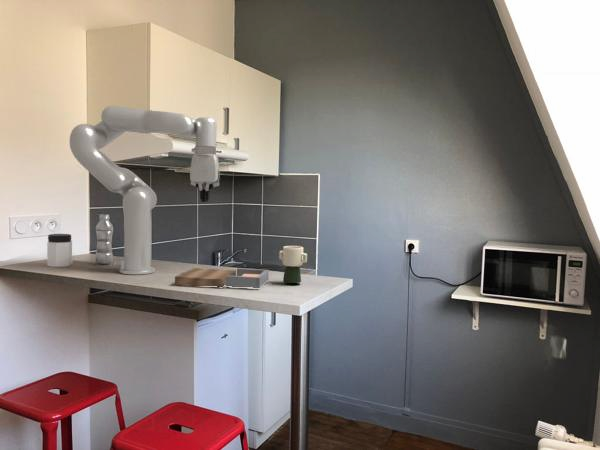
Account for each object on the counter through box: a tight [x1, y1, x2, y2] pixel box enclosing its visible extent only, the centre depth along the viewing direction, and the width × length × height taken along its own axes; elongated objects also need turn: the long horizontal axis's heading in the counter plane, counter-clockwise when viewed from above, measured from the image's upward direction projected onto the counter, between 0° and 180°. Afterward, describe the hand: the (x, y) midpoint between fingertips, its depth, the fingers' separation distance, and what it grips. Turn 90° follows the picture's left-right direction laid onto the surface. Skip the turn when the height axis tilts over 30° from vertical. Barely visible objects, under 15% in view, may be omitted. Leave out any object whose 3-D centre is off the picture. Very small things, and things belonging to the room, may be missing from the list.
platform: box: [174, 267, 237, 287], centre depth 172 cm, size 16×18×3 cm
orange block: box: [242, 274, 260, 277], centre depth 170 cm, size 6×6×4 cm
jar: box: [46, 233, 73, 268], centre depth 195 cm, size 9×8×12 cm
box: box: [225, 267, 270, 288], centre depth 171 cm, size 11×16×4 cm
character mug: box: [278, 245, 308, 284], centre depth 174 cm, size 11×7×13 cm, turn 62°
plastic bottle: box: [95, 213, 114, 265], centre depth 201 cm, size 6×7×20 cm
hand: (204, 201), depth 186 cm, fingers closed
